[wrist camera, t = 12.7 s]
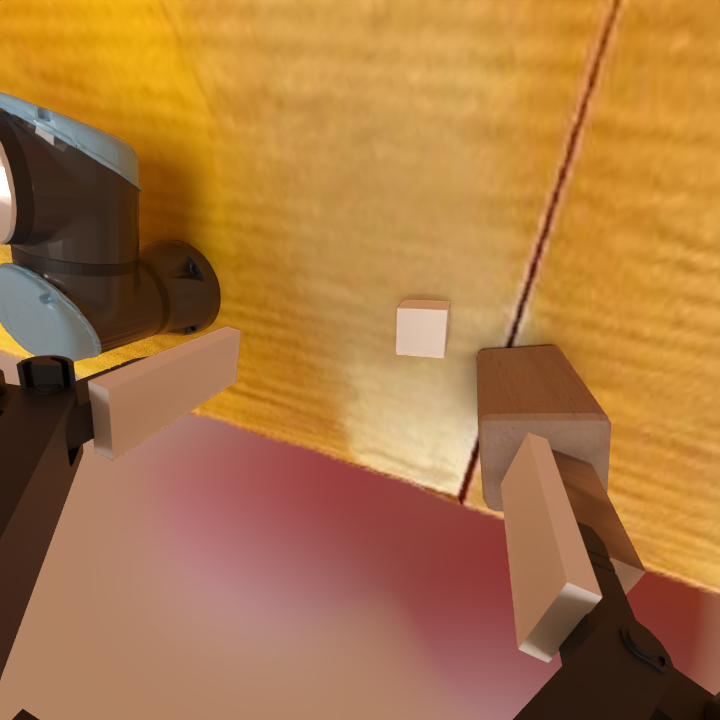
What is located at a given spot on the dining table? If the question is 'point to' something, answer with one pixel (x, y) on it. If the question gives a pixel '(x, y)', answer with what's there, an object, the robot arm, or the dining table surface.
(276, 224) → the dining table surface
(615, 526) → the walnut block
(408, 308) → the pale pink cube
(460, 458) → the dining table surface
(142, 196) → the dining table surface
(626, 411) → the dining table surface
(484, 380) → the block
